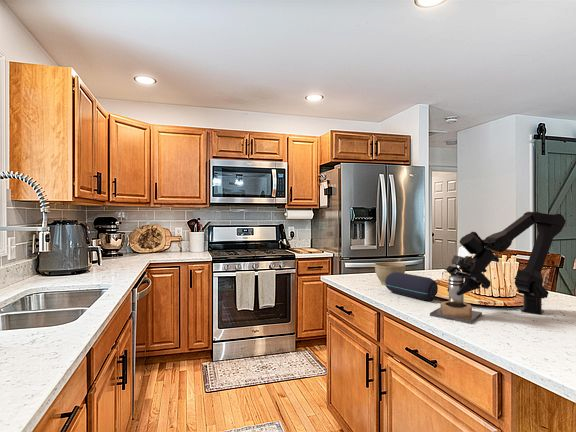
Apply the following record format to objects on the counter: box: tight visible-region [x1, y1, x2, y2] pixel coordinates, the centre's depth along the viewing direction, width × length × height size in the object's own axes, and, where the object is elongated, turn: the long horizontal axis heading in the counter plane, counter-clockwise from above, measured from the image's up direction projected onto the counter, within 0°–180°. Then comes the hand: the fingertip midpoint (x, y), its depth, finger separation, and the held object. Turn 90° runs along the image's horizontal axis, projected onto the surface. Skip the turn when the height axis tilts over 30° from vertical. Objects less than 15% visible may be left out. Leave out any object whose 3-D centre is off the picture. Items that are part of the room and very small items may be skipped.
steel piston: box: [447, 275, 465, 307], centre depth 130 cm, size 5×5×13 cm
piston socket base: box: [429, 300, 483, 324], centre depth 130 cm, size 14×14×4 cm
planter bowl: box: [374, 261, 407, 286], centre depth 187 cm, size 16×16×11 cm
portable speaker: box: [385, 272, 439, 302], centre depth 160 cm, size 25×10×10 cm, turn 31°
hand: (452, 293), depth 129 cm, fingers open, 5 cm apart
